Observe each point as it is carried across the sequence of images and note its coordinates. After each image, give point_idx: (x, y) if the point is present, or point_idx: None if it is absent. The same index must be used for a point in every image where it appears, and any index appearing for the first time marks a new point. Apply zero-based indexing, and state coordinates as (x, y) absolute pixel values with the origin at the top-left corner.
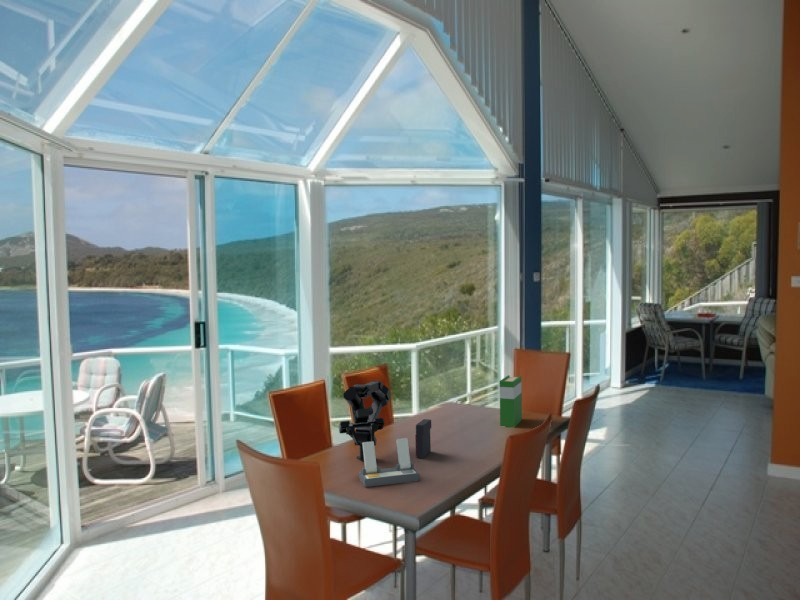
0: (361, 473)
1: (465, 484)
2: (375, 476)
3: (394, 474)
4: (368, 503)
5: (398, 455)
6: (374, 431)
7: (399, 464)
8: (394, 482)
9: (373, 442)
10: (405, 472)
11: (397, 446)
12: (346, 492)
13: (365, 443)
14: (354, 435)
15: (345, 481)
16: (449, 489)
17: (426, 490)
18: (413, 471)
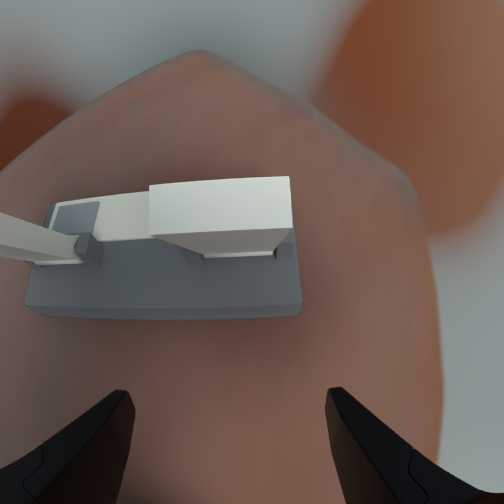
0: (293, 265)
1: (5, 171)
2: None
3: (135, 201)
4: (289, 95)
5: (45, 237)
6: (17, 463)
7: (74, 245)
8: None
9: (157, 189)
10: (88, 203)
11: (9, 227)
12: (360, 175)
13: (257, 183)
14: (406, 452)
15: (369, 296)
16: (49, 144)
17: (96, 142)
18: (58, 208)
